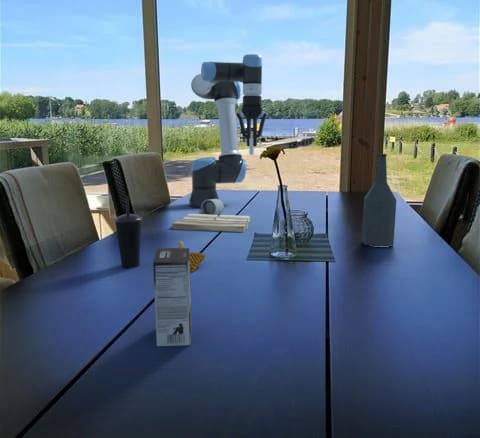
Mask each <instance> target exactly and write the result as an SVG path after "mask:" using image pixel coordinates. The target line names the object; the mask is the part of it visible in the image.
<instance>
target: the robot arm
mask: <svg viewBox="0 0 480 438" xmlns="http://www.w3.org/2000/svg"><path fill="white" fill-rule="evenodd" d="M262 61H263V59H262V56H261V55H260V54H250V53H249V54H245V55H244V56H243V57H242V62H223V61H221V62H220V61H204V62H202V63H201V66H200V73H199V74H196V75H195V76H194V77H193V79H192V80H191V82H190V83H191V85H190V87H191V90H192V92H193V94H195V95H196V96H197V97H199V98H201V99H204V100H213V101H214V105H215V106H216V107H217V113H218V126H219V128H218V129H219V142H220V154H219V156H218V159H216V157H215V156H209V157H201V158H197V159H193V160H192V162H191V181H192V182H191V186H192V187H191V193H190V196H189V199H188V200H189V201H188V205H189V207H192V208H200V209H201V205H202V203H203V202H204V201H205V200H209V199H219V200H220V197H219V195H218V192H217V184H237V183H239V184H240V183H242V182H243V181H244V180H245V177H246V174H247V161H246V159H244V158H243V156H242V154H241V153H240V152H239V144H238V142H239V141H238V130H237V129H238V128H237V127H238V126H237V118H238V121H239V125H240V131H241V136H242V137H244V138H246V146H247V147H249V148H248V149H249V151H248V153H249V155H250V156H253V155H255V147H257V145H258V143H257V141H258V138H260V137H261V136H262V134H263V131H264V130H263V129H264V126H265V121H266V119H267V117H268V116H269V113H267V112H265V111H264V110H263V108H262V107H263V106H262V96H261V95H262V90H263V87H262V80H263V79H262V75H263V74H262V73H263V71H262V69H263V62H262ZM240 83H242V90H241V84H240ZM241 91H242V93H241ZM241 94H242V95H243V96H242V108H241V110H240V111H239V112H237V113H236V105H237V104H238V100H240V98H241ZM243 116H244V117H245V118H246V126H245V122H244V118H243ZM260 117H261V118H260ZM258 118H260V122H259V127H258Z"/></svg>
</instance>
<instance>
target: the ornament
mask: <svg viewBox="0 0 480 438" xmlns="http://www.w3.org/2000/svg"><path fill="white" fill-rule="evenodd" d="M177 245H178V247H177V248H186V247H185V244H184V242H183V241H182V240H179V241H177ZM189 254H190V273H192V272H193V273H194V272H195V271H196V270H197V268H198V267H199V266H200V265H201V263H203V262H204V261H205V259H206V255H205V254H204V253H202V252H193V251H191V252H189Z"/></svg>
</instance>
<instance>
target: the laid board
mask: <svg viewBox="0 0 480 438" xmlns="http://www.w3.org/2000/svg"><path fill="white" fill-rule="evenodd" d="M171 227H172V230H189V231H210V232H211V231H215V232H236V233H238V232H239V233H244V232H245V231H246V230H247V229H248V228H249V223H248V221H223V220H198V219H183V218H179V219H177V220H176V221H174V222H172V225H171Z"/></svg>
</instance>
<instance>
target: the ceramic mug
mask: <svg viewBox="0 0 480 438" xmlns="http://www.w3.org/2000/svg"><path fill="white" fill-rule="evenodd" d="M224 209H225V206H224V202H223V201H222V200H221V199H220V198H219V199H209V200H205V201H204V202H203V203H202V205H201V208H200V210H199V211H198V214H210V215H218V216H220V215H222V213H223V212H224Z"/></svg>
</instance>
